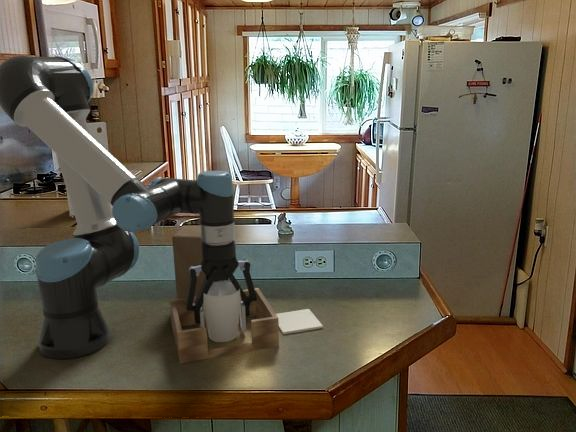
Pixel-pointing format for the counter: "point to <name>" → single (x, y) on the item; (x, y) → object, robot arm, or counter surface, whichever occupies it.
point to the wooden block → (187, 258)
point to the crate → (195, 346)
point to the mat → (298, 321)
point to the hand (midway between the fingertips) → (223, 332)
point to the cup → (222, 311)
